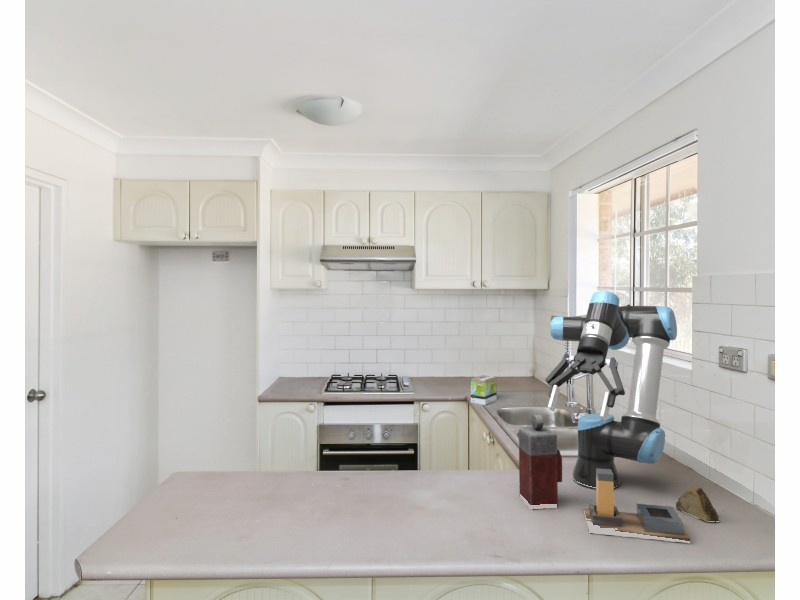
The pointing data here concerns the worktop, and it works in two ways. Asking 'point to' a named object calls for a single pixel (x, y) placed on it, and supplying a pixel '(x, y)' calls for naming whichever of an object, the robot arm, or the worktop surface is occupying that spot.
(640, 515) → the port
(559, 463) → the red rectangular canister
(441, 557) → the worktop surface
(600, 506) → the plug
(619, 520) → the board
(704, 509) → the rock
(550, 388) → the robot arm
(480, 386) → the tea box
